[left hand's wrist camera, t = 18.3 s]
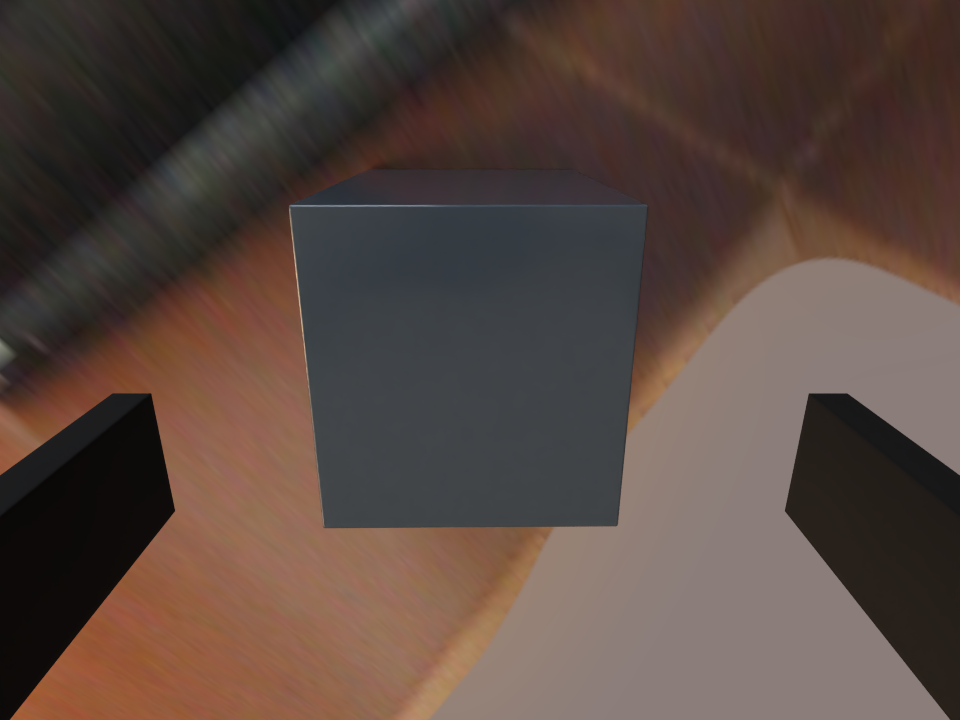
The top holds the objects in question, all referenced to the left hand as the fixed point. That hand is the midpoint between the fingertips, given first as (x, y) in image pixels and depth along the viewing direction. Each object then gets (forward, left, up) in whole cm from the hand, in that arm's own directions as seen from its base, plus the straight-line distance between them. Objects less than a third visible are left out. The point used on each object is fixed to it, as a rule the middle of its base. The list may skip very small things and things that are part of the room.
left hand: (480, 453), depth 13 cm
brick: (0, 0, -15) cm, 15 cm away
